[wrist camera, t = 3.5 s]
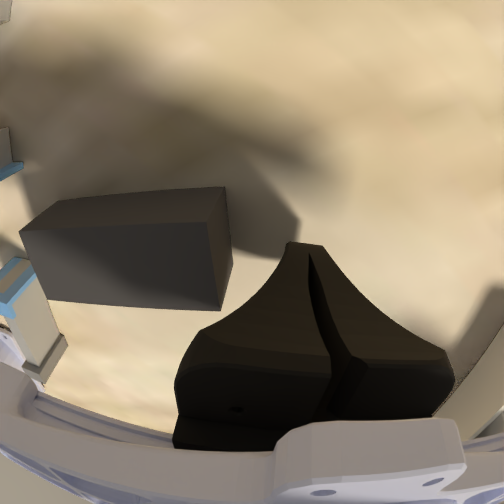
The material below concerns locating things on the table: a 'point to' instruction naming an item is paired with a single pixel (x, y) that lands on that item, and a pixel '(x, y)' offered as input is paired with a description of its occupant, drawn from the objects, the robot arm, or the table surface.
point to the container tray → (479, 393)
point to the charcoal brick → (135, 249)
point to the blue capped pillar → (26, 288)
